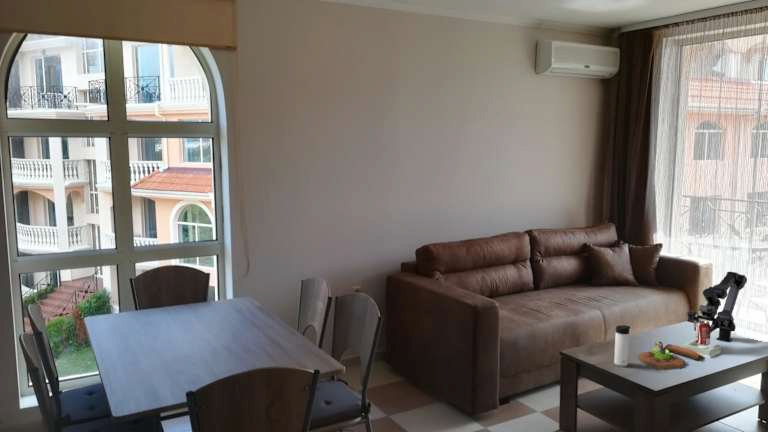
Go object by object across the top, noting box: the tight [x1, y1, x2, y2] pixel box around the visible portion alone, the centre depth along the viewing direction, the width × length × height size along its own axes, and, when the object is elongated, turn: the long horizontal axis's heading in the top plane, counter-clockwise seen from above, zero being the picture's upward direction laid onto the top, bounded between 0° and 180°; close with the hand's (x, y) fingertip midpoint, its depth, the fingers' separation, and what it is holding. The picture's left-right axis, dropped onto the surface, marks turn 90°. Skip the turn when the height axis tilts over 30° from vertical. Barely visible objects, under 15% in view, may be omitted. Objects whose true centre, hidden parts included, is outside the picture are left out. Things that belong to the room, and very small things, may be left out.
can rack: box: [682, 338, 722, 359], centre depth 308 cm, size 13×14×4 cm
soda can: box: [695, 320, 711, 347], centre depth 307 cm, size 7×7×12 cm
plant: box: [637, 341, 687, 370], centre depth 293 cm, size 20×20×11 cm
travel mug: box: [613, 324, 631, 368], centre depth 288 cm, size 6×7×20 cm
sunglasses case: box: [666, 344, 706, 362], centre depth 303 cm, size 18×7×7 cm
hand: (701, 332), depth 306 cm, fingers closed on soda can, 6 cm apart
